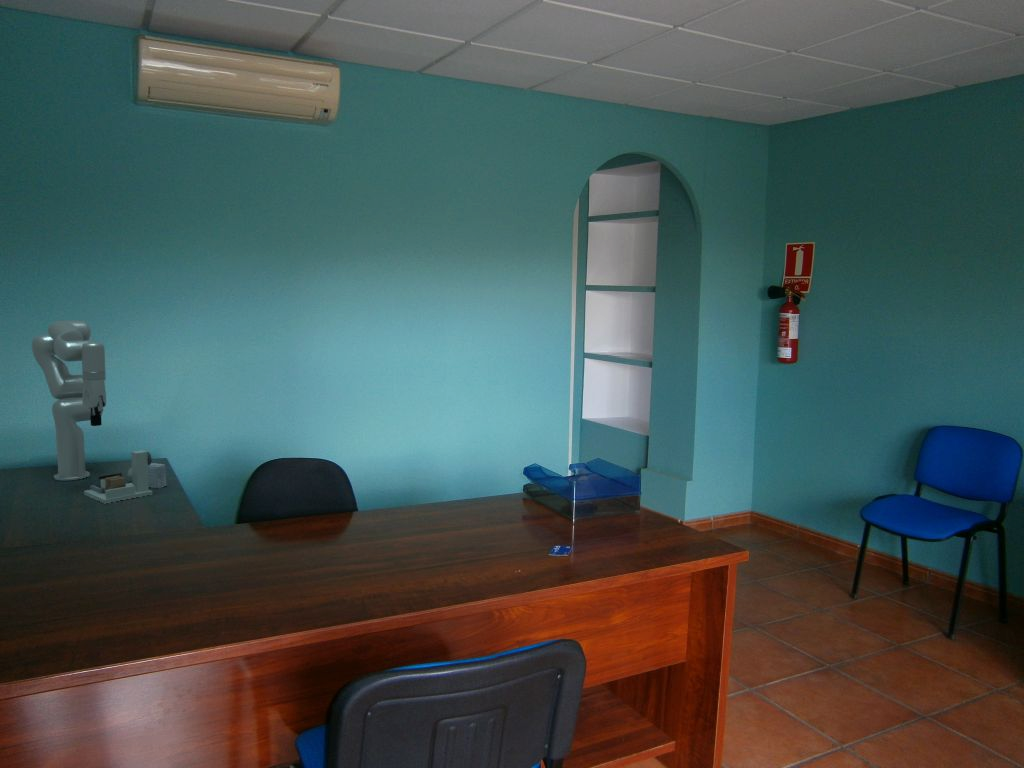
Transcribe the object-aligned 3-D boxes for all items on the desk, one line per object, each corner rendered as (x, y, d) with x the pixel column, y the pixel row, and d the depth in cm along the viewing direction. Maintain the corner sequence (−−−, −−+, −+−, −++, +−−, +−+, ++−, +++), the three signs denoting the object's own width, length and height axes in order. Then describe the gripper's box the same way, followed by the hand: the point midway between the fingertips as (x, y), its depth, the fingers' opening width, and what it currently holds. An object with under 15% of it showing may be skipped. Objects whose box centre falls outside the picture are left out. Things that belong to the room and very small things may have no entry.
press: (84, 494, 290) (82, 451, 288) (133, 486, 303) (131, 445, 301) (104, 504, 279) (102, 459, 277) (154, 494, 292) (153, 452, 290)
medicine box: (166, 486, 304) (166, 464, 303) (158, 489, 300) (157, 466, 299) (150, 484, 307) (149, 462, 306) (141, 487, 302) (140, 464, 301)
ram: (96, 492, 287) (95, 475, 286) (119, 488, 293) (118, 471, 292) (101, 494, 285) (100, 477, 284) (124, 490, 291) (123, 473, 290)
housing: (105, 494, 286) (105, 477, 285) (120, 491, 289) (119, 474, 289) (111, 496, 282) (111, 479, 282) (126, 494, 286) (125, 477, 285)
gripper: (75, 374, 292) (77, 423, 295) (91, 379, 283) (93, 429, 285) (96, 373, 298) (98, 421, 300) (113, 377, 288) (115, 427, 291)
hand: (96, 425), depth 293 cm, fingers closed
